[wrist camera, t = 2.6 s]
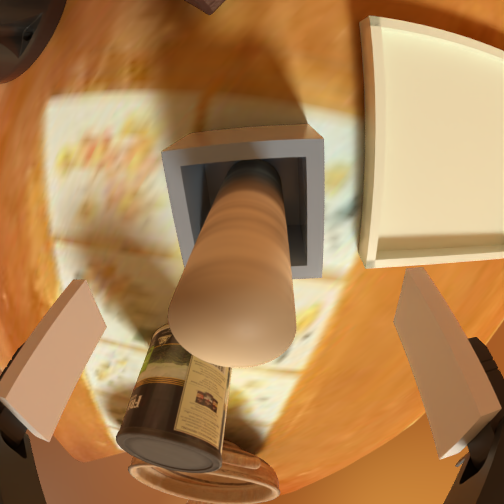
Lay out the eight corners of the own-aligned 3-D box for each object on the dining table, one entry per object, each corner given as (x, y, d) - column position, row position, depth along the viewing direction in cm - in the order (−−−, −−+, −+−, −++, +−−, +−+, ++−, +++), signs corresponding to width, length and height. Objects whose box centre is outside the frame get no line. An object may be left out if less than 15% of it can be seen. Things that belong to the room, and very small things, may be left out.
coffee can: (147, 361, 37) (116, 453, 24) (158, 309, 32) (114, 421, 19) (220, 384, 38) (207, 479, 26) (247, 339, 33) (236, 456, 21)
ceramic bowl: (159, 384, 39) (142, 443, 31) (324, 429, 44) (328, 480, 36) (129, 448, 57) (120, 481, 48) (237, 478, 62) (234, 510, 54)
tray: (358, 22, 16) (369, 15, 14) (521, 65, 15) (538, 67, 13) (358, 252, 27) (365, 268, 24) (500, 245, 25) (512, 257, 23)
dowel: (221, 160, 22) (153, 277, 9) (279, 156, 22) (296, 272, 9) (227, 214, 24) (184, 366, 11) (282, 210, 24) (295, 366, 11)
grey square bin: (190, 132, 22) (161, 151, 16) (308, 124, 21) (323, 138, 15) (206, 235, 27) (188, 282, 20) (310, 229, 26) (321, 277, 20)
